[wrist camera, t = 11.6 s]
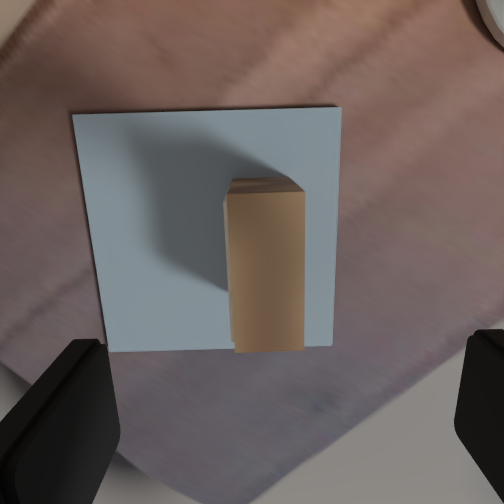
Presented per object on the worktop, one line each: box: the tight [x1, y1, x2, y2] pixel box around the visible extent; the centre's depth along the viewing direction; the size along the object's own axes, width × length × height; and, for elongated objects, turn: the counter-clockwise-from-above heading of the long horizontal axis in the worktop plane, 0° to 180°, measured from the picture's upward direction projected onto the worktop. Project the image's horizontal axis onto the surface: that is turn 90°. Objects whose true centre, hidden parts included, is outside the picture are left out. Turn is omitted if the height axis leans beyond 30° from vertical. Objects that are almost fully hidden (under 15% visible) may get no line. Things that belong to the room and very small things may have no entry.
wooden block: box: [223, 177, 305, 353], centre depth 21 cm, size 4×8×7 cm, turn 2°
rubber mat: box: [72, 107, 342, 352], centre depth 24 cm, size 16×16×1 cm
